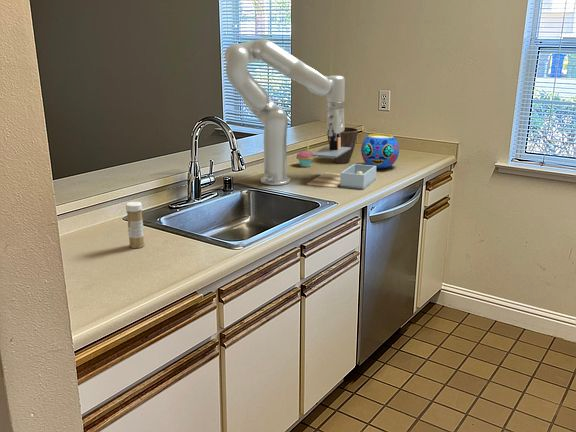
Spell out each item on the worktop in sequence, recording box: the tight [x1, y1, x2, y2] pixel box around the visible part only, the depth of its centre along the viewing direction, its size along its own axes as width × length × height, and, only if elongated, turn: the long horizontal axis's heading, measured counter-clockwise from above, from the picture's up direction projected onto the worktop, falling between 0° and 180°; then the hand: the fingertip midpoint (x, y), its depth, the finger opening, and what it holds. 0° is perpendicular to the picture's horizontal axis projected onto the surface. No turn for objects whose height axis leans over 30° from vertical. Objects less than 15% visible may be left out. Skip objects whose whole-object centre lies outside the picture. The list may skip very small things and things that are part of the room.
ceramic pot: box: [360, 133, 400, 169], centre depth 275 cm, size 18×18×15 cm
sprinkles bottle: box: [125, 201, 145, 249], centre depth 176 cm, size 5×5×14 cm
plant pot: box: [326, 126, 359, 165], centre depth 286 cm, size 15×15×16 cm
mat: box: [306, 171, 340, 189], centre depth 255 cm, size 22×13×1 cm, turn 156°
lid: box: [311, 137, 351, 160], centre depth 250 cm, size 19×11×7 cm, turn 156°
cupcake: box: [295, 142, 316, 168], centre depth 279 cm, size 9×8×12 cm
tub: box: [339, 163, 377, 190], centre depth 249 cm, size 18×10×6 cm, turn 156°
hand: (334, 148), depth 254 cm, fingers closed on lid, 3 cm apart
